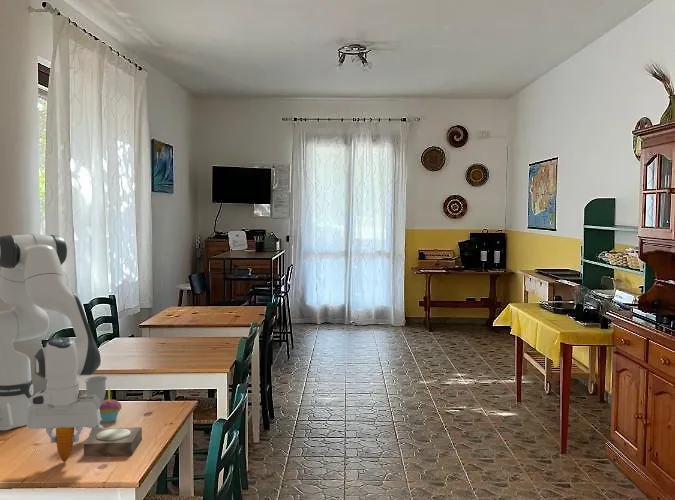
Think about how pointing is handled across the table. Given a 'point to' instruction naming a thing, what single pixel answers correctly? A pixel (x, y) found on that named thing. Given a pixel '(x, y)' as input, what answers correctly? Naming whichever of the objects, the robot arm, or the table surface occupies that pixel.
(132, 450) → the walnut plinth
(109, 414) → the cupcake
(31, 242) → the robot arm
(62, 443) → the carrot
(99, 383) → the chalice
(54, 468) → the table surface
